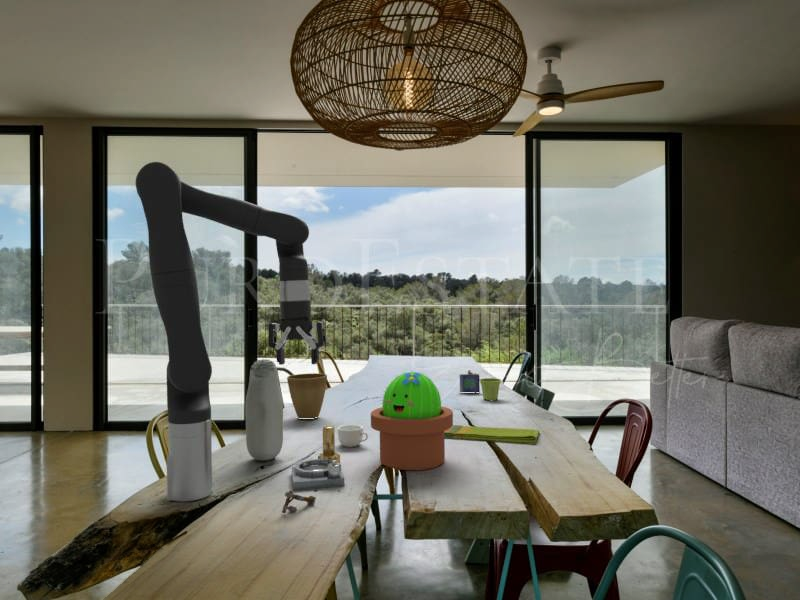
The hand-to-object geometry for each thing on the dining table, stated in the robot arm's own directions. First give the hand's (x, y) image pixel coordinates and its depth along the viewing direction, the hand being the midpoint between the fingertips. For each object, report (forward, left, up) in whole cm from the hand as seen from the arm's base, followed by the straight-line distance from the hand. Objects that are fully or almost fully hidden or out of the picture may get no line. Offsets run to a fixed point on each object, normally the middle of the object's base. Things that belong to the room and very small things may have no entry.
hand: (298, 364), depth 136 cm
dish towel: (+59, +29, -29) cm, 72 cm away
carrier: (+4, -2, -29) cm, 29 cm away
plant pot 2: (+85, +85, -29) cm, 124 cm away
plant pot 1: (+6, +70, -29) cm, 76 cm away
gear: (+8, +10, -29) cm, 31 cm away
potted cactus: (+31, +6, -29) cm, 42 cm away
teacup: (+17, +27, -29) cm, 43 cm away
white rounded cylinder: (-9, +19, -29) cm, 35 cm away
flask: (+82, +103, -29) cm, 135 cm away
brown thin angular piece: (-1, -20, -29) cm, 35 cm away
